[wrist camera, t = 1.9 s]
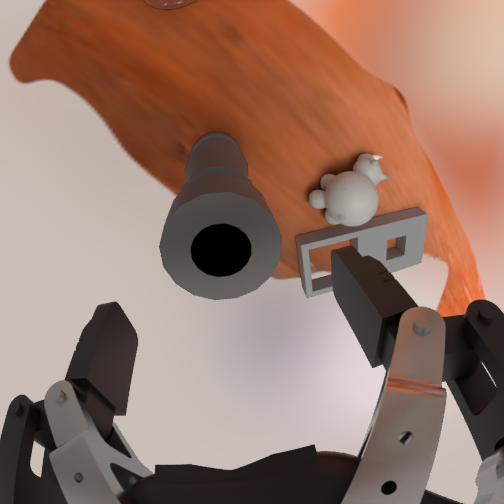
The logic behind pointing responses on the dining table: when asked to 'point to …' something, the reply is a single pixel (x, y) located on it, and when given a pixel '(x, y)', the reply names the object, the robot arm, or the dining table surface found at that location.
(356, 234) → the hole board
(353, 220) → the toy rhinoceros
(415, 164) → the dining table surface
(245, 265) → the candle holder
